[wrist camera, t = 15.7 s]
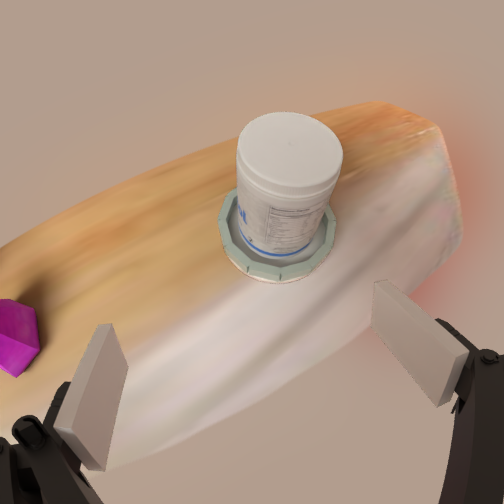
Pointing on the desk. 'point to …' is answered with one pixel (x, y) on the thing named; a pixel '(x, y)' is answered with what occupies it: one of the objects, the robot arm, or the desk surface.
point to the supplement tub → (284, 181)
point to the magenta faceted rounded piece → (17, 336)
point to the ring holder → (267, 267)
